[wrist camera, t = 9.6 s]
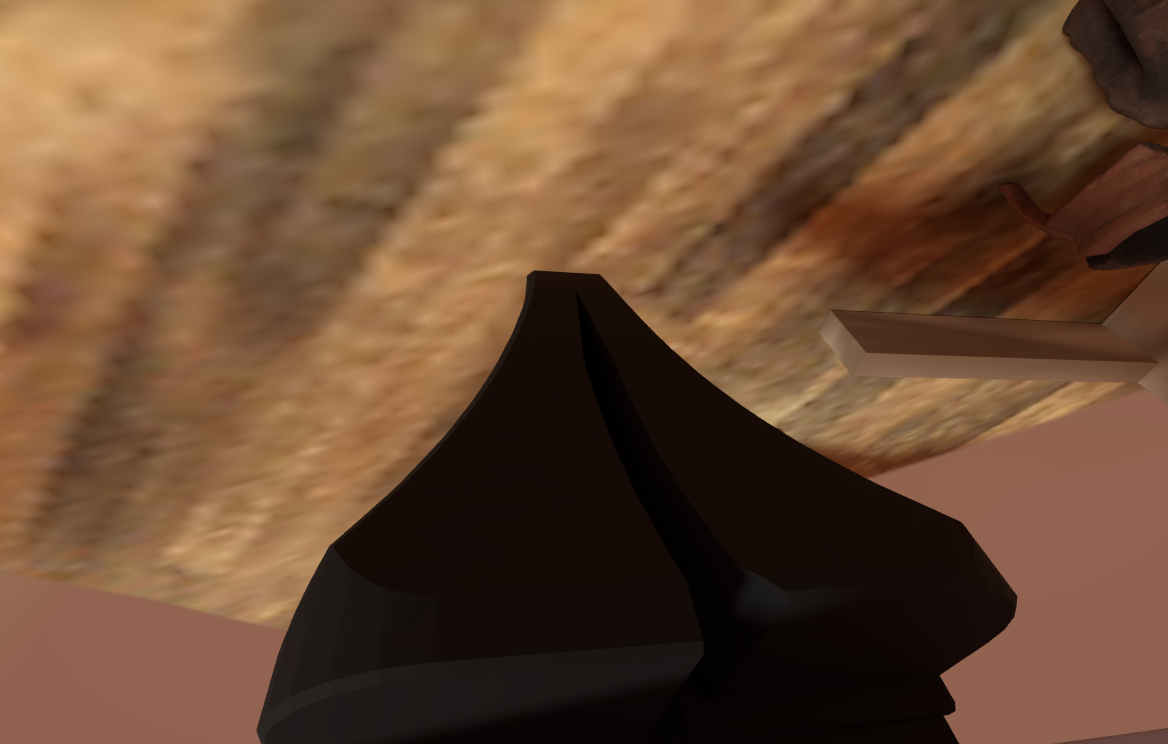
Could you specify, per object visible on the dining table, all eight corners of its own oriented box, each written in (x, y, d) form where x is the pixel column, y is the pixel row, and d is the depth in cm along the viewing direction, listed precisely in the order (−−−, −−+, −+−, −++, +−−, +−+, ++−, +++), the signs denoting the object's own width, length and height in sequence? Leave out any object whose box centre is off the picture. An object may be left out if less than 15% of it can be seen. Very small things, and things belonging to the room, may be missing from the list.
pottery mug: (1362, -68, 16) (1543, 147, 14) (1013, 138, 24) (1090, 301, 22) (1319, -367, 10) (1636, -72, 8) (862, 40, 18) (948, 255, 15)
